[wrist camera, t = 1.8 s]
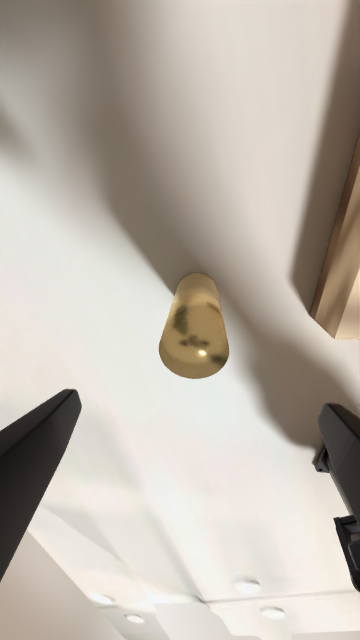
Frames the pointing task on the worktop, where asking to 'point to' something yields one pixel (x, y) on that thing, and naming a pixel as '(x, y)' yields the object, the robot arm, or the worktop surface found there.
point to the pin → (195, 330)
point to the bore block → (342, 265)
